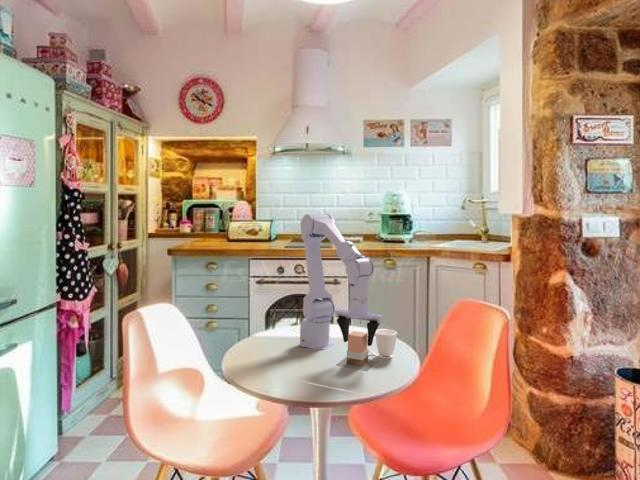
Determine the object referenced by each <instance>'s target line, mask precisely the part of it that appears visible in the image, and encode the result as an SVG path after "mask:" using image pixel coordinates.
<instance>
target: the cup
mask: <svg viewBox="0 0 640 480" xmlns="http://www.w3.org/2000/svg"><path fill="white" fill-rule="evenodd" d="M397 336H398V332H397V331H396V330H395V329H388V328H379V329H377V330H376V332H375V335H374V338H375V343H376V344H375V345H376V350H377V353H378V354H376V353H375V352H373V350H371V349H370V348H369V347H368V346H367V349H368V353H369V352H370V353H371V354H372V355H373V356H377V357H379V358H380V359H381V358H382V359H391V358H393V353H394V351H395V348H396V347H395V346H396V341H397ZM367 339H368V335H367Z"/></svg>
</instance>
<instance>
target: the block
mask: <svg viewBox="0 0 640 480" xmlns="http://www.w3.org/2000/svg"><path fill="white" fill-rule="evenodd" d="M367 336H368V332H364V331H355V330H353V331H351V332H350V333H349V334H348V341H347V350H348V351H350V352H356V353H363V352H364V351H366V350H367V347H368V343H367V342H368V338H367Z"/></svg>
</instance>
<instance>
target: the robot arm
mask: <svg viewBox="0 0 640 480" xmlns="http://www.w3.org/2000/svg"><path fill="white" fill-rule="evenodd" d="M299 225H300V231H301V240H303V244H304V254H305V263H306V270H307V272H306V273H307V280H308V281H307V282H308V287H309V292H308V293H307V294H306V295H305V296H304V297H303V298H302V299H303V305H302V306H303V307H302V313H303V316H304V318H303V319H302V320H301V322H300V327H299V328H300V330H299V335H300V336H299V344H298V346H299V347H303V348H309V349H315V350H319V351H325V350H327V349H329V348H330V347H331V346H333V345H334V344H335V343H334V342H332V341H330V327H331V325H330V324H331V320H332V317H333V316H334V317H336V318H337V319H336V323H337V324H338V326H339V328H340V331H341V335H342V338H343V343H348V334H350V333H349V332H350V323H351V322H350V321H351V319H352V320H353V319H354V320H358V321H359V320H361V321H367V323H366V327H367V330H366V331H367V333H368V334H367V336H368V338H367V347H368V346H369V347H370V346H372V345H373V342H374V338H375V336H374V335H375V332H376V330H378V328H379V326H380V324H382V323H383V321H384V315H382V314H378V313H373V312H369V298H370V277H371V276H372V275H373V274H374V270H375V269H374V268H375V267H374V262H373V261H372V260H371V258H370V257H369V256H368V257H367V256H365V255H362V253H360V251H359V250H358V249H357V247H356V246H355V245H354V243H353V242H352V241H349V240H345V239H344V237H343V235H342V234H341V233H340V231H339V230H338V228H337V226H336V220H335V219H334V217H333V215H331V214H329V213H328V214H327V213H326V214H309V213H308V214H305V215H303V217H302V219H301V221H300V224H299ZM325 239H327V240H328V241H330V243H331V244H332V245H333V246H334V247H335V248H336V249H335V253H336V255H337V256H338V258H339V260H341V261H342V263H343V264H344V265H345V272H346V274H347V282H348V283H349V297H348V298H349V301H348V309H336V305H335V301H334V299H333V295H332V294H331V292H329V291H327V290H326V286H325V285H326V283H325V276H324V268H323V267H324V266H323V259H322V252H321V244H322V241H323V240H325Z"/></svg>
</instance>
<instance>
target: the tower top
mask: <svg viewBox="0 0 640 480" xmlns="http://www.w3.org/2000/svg"><path fill="white" fill-rule="evenodd" d="M367 356H368V357H369V351H368V349H367V350H366V351H364V352H363V353H356V352H350V351H348V349H347V350H346V357H347V358H352V359H358V360H363V359H365V358H366V357H367Z"/></svg>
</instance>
